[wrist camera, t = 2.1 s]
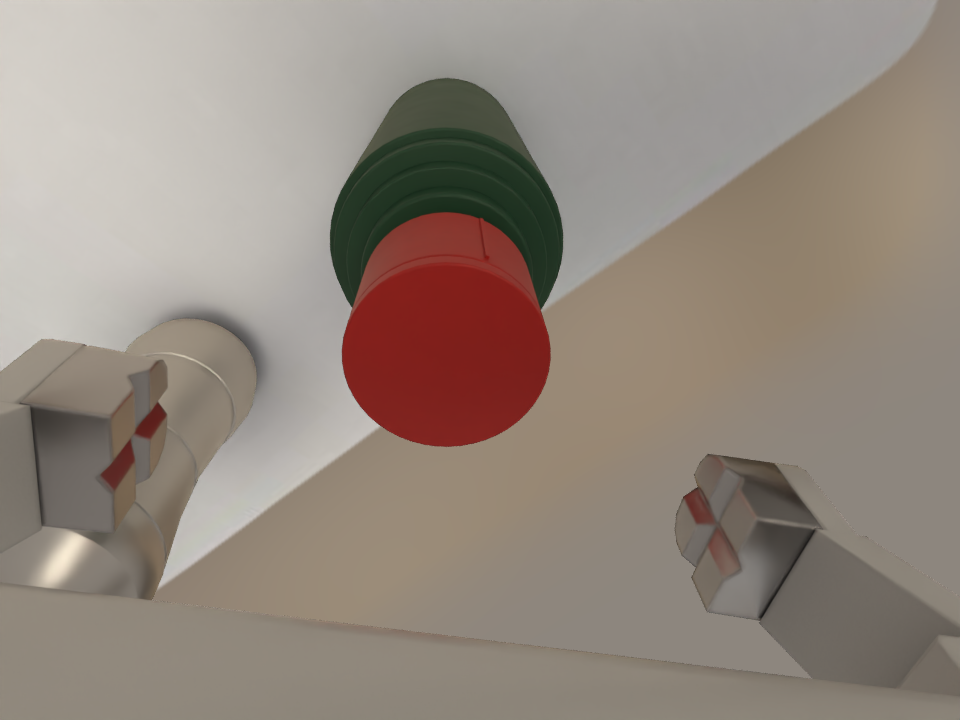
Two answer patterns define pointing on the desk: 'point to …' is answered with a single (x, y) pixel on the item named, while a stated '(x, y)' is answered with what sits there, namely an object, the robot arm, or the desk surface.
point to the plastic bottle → (163, 497)
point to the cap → (446, 333)
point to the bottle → (446, 181)
